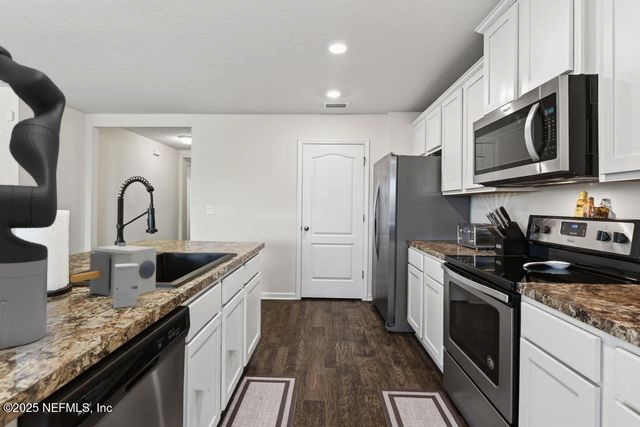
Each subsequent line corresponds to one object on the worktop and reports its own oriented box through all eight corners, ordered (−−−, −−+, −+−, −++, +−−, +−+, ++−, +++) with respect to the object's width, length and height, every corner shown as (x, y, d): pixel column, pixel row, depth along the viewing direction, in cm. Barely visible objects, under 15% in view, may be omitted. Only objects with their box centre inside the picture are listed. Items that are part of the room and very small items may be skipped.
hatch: (80, 301, 96) (81, 258, 95) (63, 299, 98) (64, 256, 97) (108, 294, 104) (109, 254, 104) (92, 292, 106) (93, 252, 106)
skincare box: (113, 308, 92) (114, 266, 92) (112, 304, 95) (113, 263, 95) (137, 305, 95) (138, 264, 95) (136, 301, 99) (137, 262, 99)
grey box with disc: (130, 298, 102) (131, 248, 102) (91, 293, 107) (92, 244, 107) (157, 290, 112) (158, 244, 112) (119, 286, 117) (120, 242, 117)
